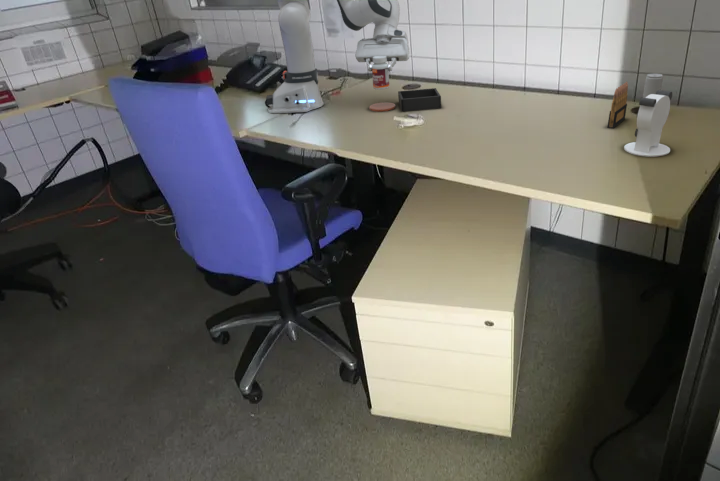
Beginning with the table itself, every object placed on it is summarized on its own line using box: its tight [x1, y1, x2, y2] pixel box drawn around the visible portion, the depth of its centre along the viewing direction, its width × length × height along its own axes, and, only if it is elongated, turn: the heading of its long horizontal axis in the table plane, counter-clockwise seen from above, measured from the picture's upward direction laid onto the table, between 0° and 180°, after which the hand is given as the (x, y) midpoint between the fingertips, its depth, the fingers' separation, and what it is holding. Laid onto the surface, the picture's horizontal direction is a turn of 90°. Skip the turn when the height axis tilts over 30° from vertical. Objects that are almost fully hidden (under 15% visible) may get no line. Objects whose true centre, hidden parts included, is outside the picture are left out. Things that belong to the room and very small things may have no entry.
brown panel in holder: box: [607, 81, 629, 129], centre depth 169 cm, size 11×2×12 cm, turn 140°
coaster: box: [368, 101, 396, 113], centre depth 209 cm, size 10×10×1 cm
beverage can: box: [642, 73, 664, 98], centre depth 176 cm, size 5×5×12 cm
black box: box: [397, 87, 442, 112], centre depth 207 cm, size 15×13×4 cm
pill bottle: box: [371, 56, 390, 91], centre depth 203 cm, size 6×6×11 cm
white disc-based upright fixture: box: [623, 89, 673, 158], centre depth 147 cm, size 12×11×15 cm
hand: (379, 70), depth 202 cm, fingers closed on pill bottle, 6 cm apart
